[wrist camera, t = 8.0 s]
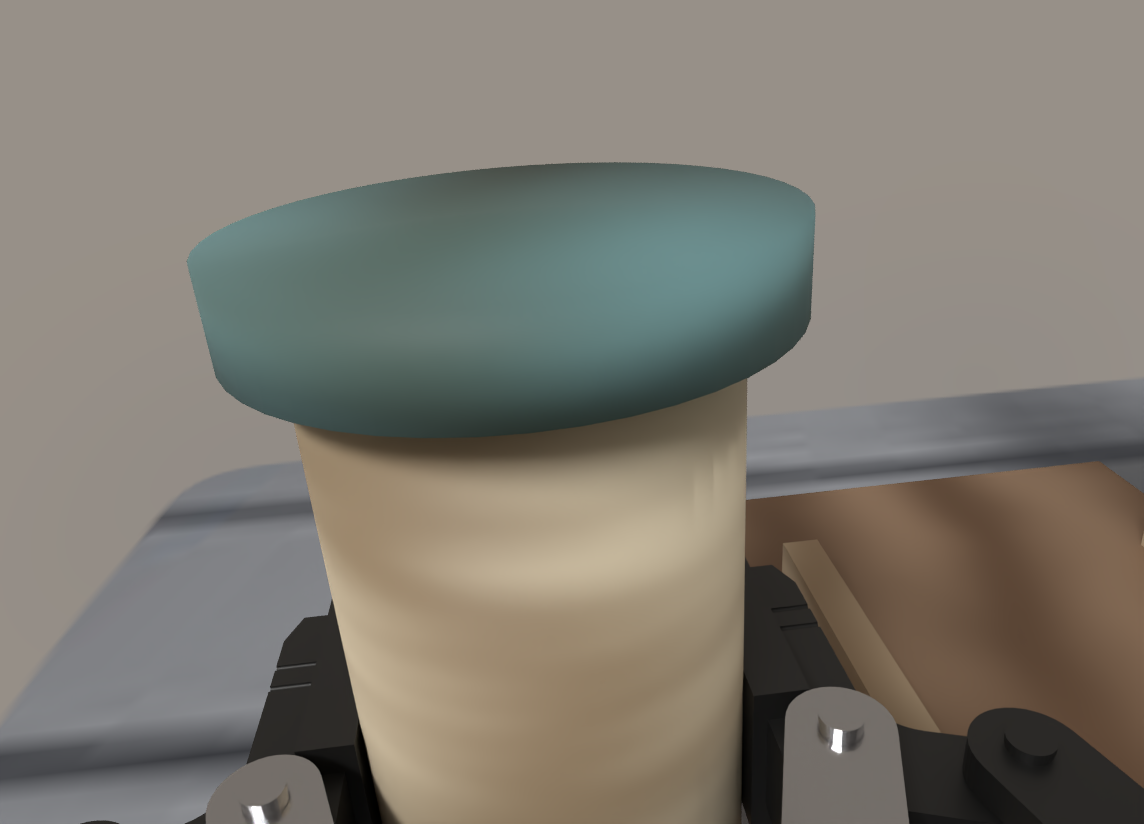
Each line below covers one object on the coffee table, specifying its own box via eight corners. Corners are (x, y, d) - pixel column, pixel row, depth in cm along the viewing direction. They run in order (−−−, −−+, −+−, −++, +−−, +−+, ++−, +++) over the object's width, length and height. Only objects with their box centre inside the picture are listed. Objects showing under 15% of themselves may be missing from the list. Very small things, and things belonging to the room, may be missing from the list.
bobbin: (740, 892, 19) (750, 139, 12) (876, 1349, 12) (1043, 275, 6) (403, 938, 18) (235, 184, 12) (364, 1436, 12) (-44, 381, 6)
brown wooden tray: (1092, 490, 32) (1106, 422, 31) (1911, 1128, 14) (2018, 1019, 12) (707, 533, 31) (707, 465, 30) (1032, 1273, 13) (1062, 1170, 12)
